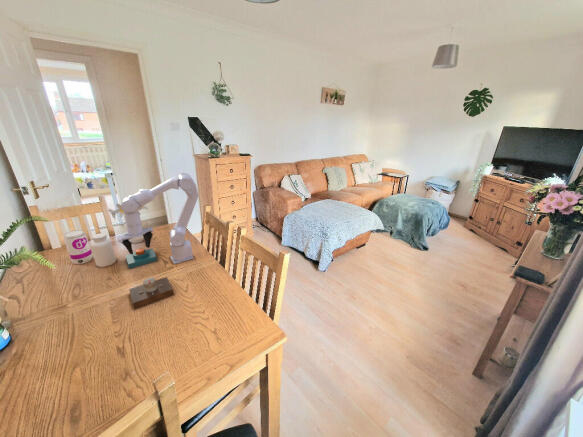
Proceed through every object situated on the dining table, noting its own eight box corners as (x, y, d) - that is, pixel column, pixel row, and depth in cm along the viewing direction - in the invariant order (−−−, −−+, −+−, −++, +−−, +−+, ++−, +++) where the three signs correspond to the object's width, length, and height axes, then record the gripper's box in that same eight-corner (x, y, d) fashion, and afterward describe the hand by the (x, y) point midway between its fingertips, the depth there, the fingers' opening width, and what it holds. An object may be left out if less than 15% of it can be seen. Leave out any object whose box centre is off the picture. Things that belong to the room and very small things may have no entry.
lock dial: (144, 287, 97) (142, 278, 95) (156, 284, 99) (155, 275, 98) (144, 293, 94) (142, 285, 92) (157, 290, 96) (155, 281, 94)
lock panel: (167, 282, 105) (166, 276, 104) (174, 294, 98) (172, 288, 97) (130, 295, 97) (128, 288, 96) (134, 309, 90) (132, 303, 89)
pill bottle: (120, 259, 120) (113, 232, 115) (107, 268, 113) (99, 240, 107) (105, 257, 121) (97, 231, 115) (92, 266, 114) (82, 238, 108)
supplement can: (96, 259, 119) (87, 232, 114) (76, 266, 113) (65, 238, 107) (89, 254, 123) (80, 228, 118) (69, 261, 117) (59, 234, 111)
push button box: (153, 252, 127) (151, 245, 126) (157, 261, 120) (155, 253, 118) (126, 259, 120) (124, 251, 119) (129, 269, 113) (127, 260, 111)
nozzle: (143, 250, 121) (143, 247, 120) (145, 253, 118) (144, 250, 118) (135, 252, 119) (134, 249, 118) (136, 255, 116) (135, 252, 116)
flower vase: (113, 243, 134) (101, 201, 124) (147, 232, 148) (138, 194, 139) (124, 251, 127) (113, 207, 118) (158, 238, 142) (150, 198, 132)
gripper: (120, 231, 100) (127, 259, 105) (154, 221, 111) (159, 246, 116) (112, 227, 103) (119, 254, 108) (146, 217, 114) (151, 242, 120)
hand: (139, 250), depth 112 cm, fingers open, 7 cm apart
